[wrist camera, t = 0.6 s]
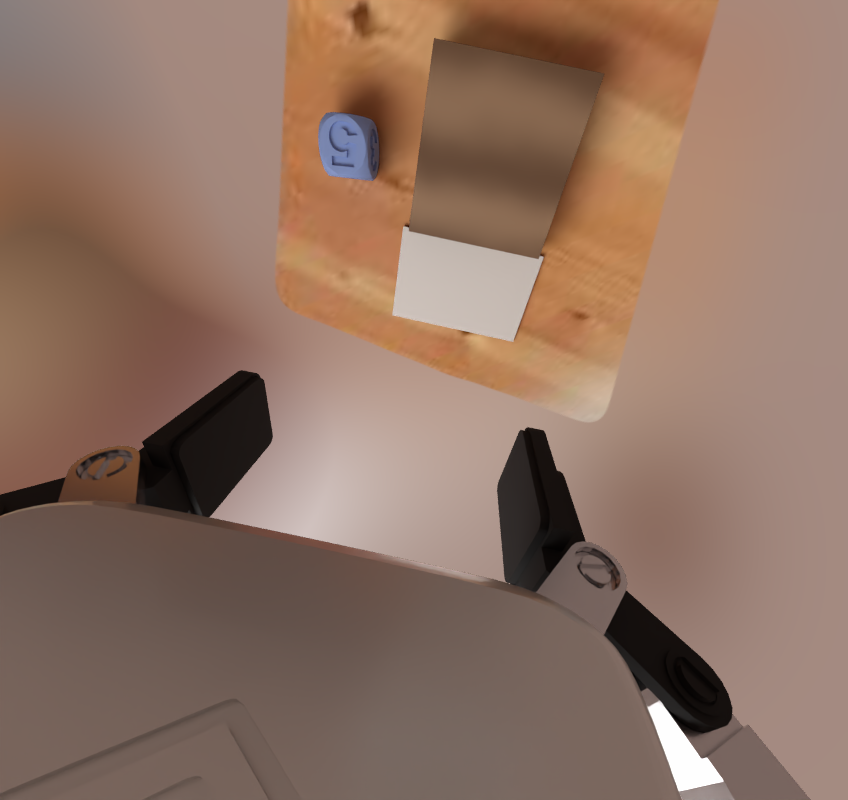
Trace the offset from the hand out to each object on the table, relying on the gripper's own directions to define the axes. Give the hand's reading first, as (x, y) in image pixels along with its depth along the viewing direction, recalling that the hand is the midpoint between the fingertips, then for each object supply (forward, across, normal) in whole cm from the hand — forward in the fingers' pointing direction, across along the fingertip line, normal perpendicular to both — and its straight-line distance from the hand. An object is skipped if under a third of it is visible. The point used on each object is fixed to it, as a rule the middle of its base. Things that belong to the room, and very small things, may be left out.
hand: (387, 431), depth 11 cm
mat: (+26, -2, 0) cm, 26 cm away
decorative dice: (+26, +10, -9) cm, 29 cm away
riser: (+26, -2, -10) cm, 28 cm away
